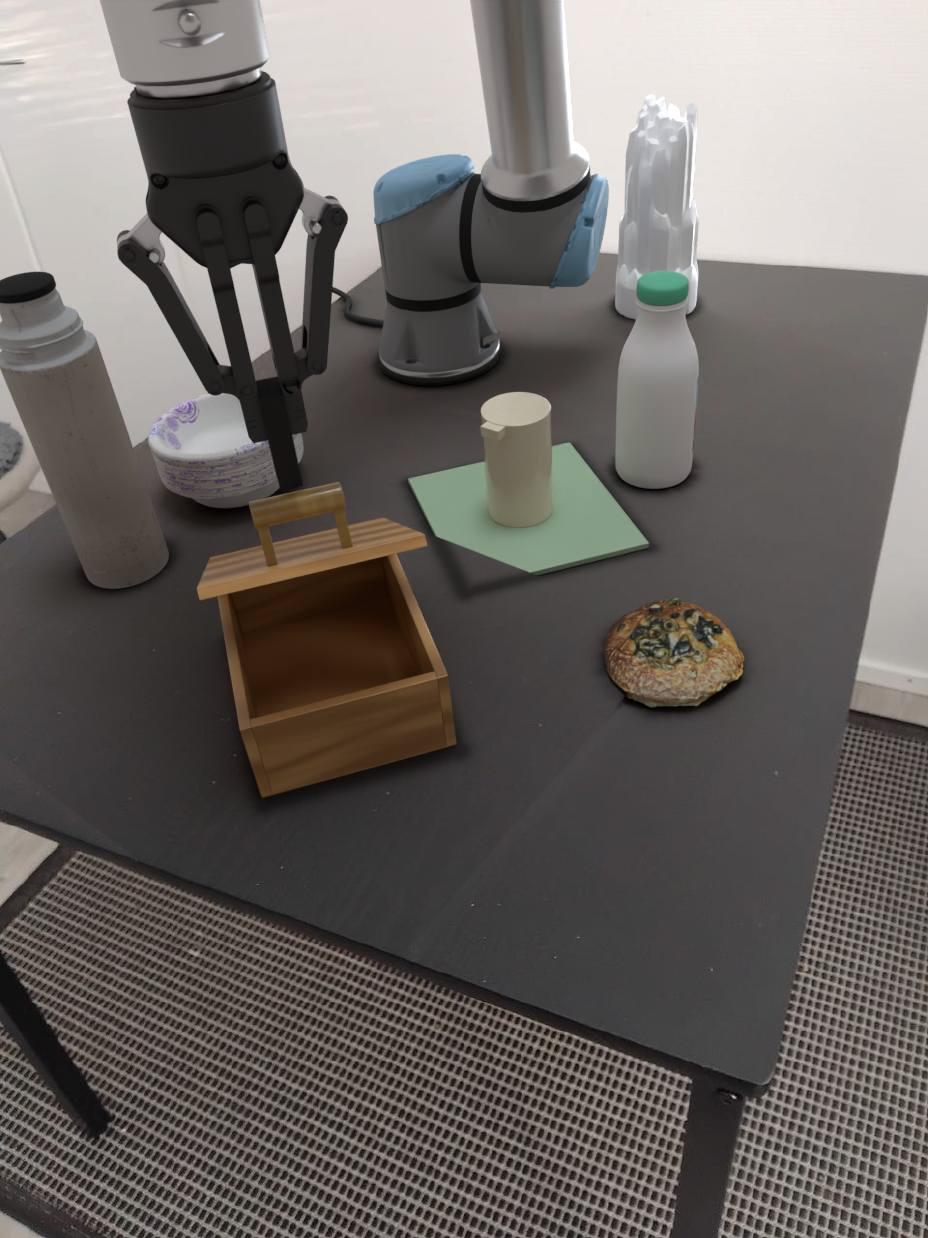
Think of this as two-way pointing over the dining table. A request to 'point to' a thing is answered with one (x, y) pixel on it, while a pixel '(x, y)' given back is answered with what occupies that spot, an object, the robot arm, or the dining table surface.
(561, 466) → the mat
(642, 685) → the bread roll
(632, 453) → the milk bottle
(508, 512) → the jug
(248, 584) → the chest lid
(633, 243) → the decorative vase
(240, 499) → the paper bowls
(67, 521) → the thermos bottle
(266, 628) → the chest
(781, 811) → the dining table surface
